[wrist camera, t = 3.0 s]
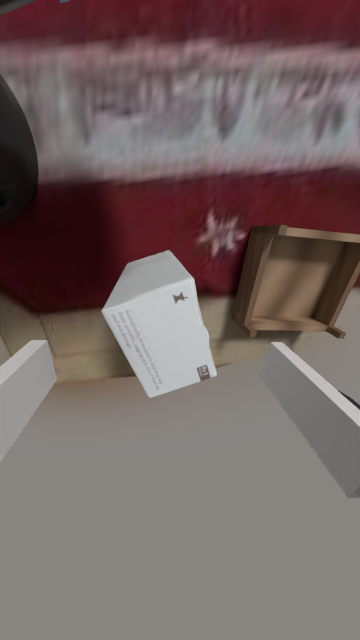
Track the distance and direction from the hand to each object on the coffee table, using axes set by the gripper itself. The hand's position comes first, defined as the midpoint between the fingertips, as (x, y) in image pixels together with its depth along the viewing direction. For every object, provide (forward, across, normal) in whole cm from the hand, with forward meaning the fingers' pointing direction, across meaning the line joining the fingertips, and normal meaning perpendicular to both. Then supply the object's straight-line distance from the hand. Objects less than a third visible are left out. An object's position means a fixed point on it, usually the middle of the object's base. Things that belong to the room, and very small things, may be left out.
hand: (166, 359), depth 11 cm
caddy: (+16, +18, +2) cm, 24 cm away
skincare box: (+16, 0, 0) cm, 16 cm away
